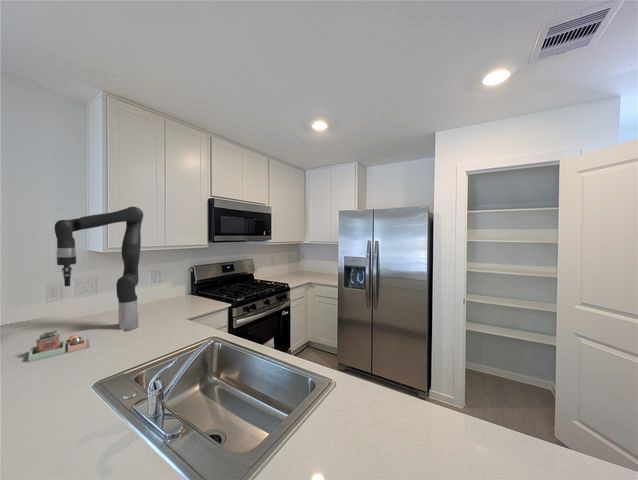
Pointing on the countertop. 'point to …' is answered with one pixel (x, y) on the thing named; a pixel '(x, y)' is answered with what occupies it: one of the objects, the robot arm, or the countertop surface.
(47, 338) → the lighter
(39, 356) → the divided organizer tray
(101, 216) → the robot arm
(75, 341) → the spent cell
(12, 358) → the countertop surface
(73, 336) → the button
